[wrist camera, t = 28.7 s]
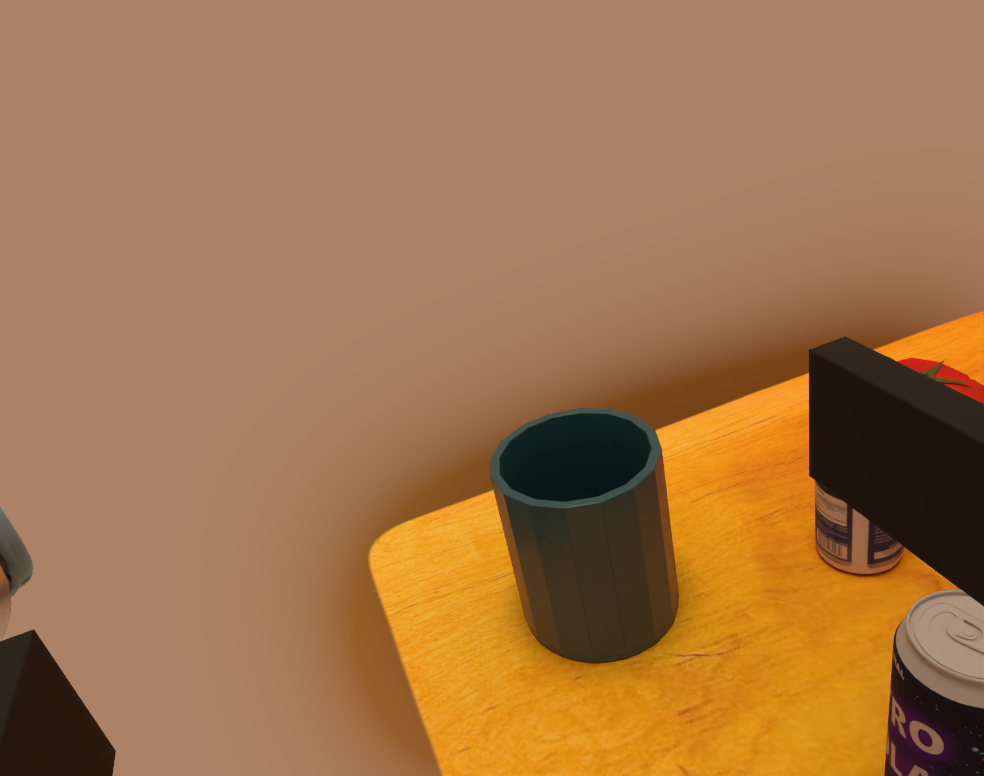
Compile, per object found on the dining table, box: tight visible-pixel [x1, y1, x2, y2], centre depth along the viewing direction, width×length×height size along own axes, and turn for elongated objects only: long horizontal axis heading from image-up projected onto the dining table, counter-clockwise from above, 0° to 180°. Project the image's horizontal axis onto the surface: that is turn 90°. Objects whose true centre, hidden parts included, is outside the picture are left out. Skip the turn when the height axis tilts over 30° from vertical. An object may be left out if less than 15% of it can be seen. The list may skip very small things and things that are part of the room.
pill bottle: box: [815, 480, 903, 574], centre depth 50 cm, size 5×5×10 cm
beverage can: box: [885, 590, 984, 776], centre depth 34 cm, size 6×6×12 cm
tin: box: [490, 408, 679, 662], centre depth 50 cm, size 10×10×12 cm
